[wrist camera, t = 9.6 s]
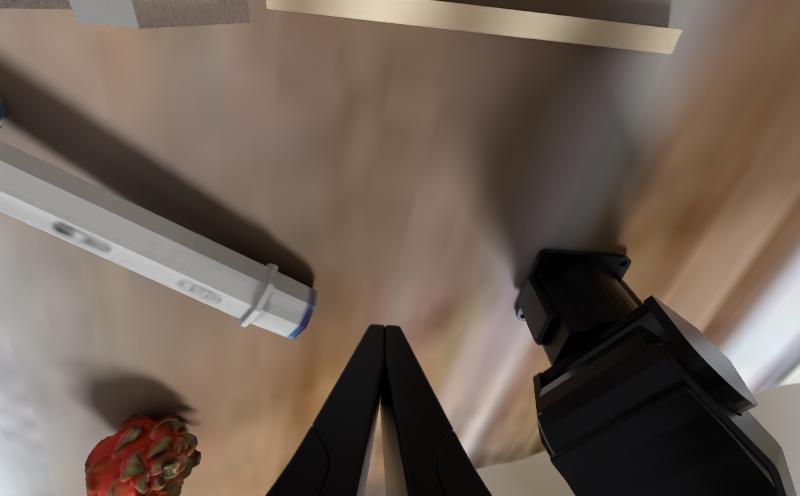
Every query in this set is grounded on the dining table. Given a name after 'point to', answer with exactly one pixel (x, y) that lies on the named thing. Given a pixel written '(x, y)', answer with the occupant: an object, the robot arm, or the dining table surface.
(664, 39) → the guide rails
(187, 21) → the slotted u bracket
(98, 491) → the dragon fruit
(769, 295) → the dining table surface
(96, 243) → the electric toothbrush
